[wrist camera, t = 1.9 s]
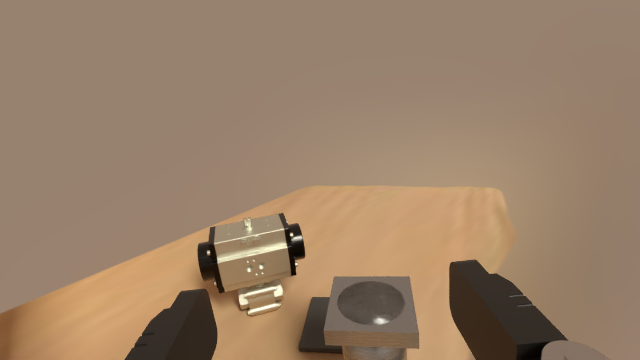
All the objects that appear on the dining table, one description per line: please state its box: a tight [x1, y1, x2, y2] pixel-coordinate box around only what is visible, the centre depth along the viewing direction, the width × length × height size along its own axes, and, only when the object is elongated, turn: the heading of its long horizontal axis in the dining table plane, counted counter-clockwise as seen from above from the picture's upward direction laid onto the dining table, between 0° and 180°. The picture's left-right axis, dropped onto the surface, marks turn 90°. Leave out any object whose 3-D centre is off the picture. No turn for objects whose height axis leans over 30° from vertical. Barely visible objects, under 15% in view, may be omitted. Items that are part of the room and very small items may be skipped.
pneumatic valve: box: [198, 213, 305, 316], centre depth 40 cm, size 6×12×12 cm, turn 105°
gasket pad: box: [299, 297, 343, 353], centre depth 37 cm, size 8×8×1 cm
